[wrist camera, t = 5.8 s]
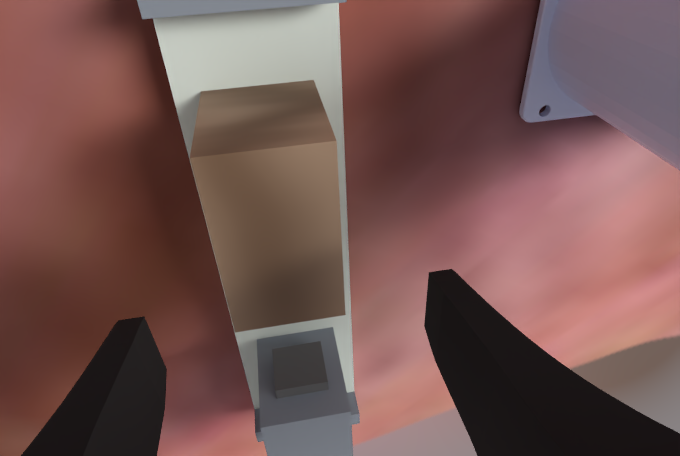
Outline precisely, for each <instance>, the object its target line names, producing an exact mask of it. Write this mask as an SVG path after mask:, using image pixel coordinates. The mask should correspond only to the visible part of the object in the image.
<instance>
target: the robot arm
mask: <svg viewBox="0 0 680 456" xmlns="http://www.w3.org/2000/svg"><path fill="white" fill-rule="evenodd" d="M545 105H546V108H545V110H544V111H543V112H541V113H539V111H540V109H541V108H542V107H543V106H545ZM519 115H520V117H521V118H522V119H523V120H524V121H526V122H530V123H532V122H541V121H549V120H558V119H566V118H575V117H583V116H591V115H597V116H598V117H600V118H601V119H603V120H604V121H606V122H607V123H609V124H610V125H612V126H613V127H615V128H616V129H618V130H619V131H621V132H622V133H624V134H625V135H627V136H628V137H630V138H631V139H633V140H634V141H636V142H637V143H639V144H640V145H642V146H643V147H645V148H646V149H648V150H649V151H651V152H652V153H654V154H655V155H657V156H658V157H660V158H662V159H663V160H665V161H666V162H668V163H669V164H671V165H672V166H674V167H675V168H677V169H678V170H680V0H541V1H540V6H539V12H538V17H537V22H536V27H535V32H534V37H533V43H532V48H531V53H530V58H529V63H528V68H527V74H526V79H525V84H524V89H523V94H522V99H521V105H520V110H519ZM424 326H425V330H426V333H427V336H428V339H429V343H430V346H431V349H432V352H433V355H434V358H435V361H436V363H437V366H438V368H439V370H440V373H441V375H442V377H443V379H444V381H445V384H446V386H447V388H448V390H449V392H450V395H451V397H452V399H453V401H454V403H455V406H456V408H457V410H458V412H459V414H460V417H461V419H462V421H463V423H464V425H465V427H466V430H467V432H468V434H469V436H470V439H471V441H472V443H473V446H474V448H475V451H476V453H477V456H680V434H679V433H678V432H676V431H674V430H672V429H670V428H668V427H666V426H664V425H662V424H659V423H658V422H656V421H654V420H652V419H651V418H649V417H647V416H645V415H643V414H641V413H640V412H638V411H636V410H634V409H633V408H631V407H629V406H628V405H626V404H624V403H622V402H621V401H619V400H617V399H616V398H614V397H612V396H610V395H609V394H607V393H605V392H604V391H602V390H600V389H599V388H597V387H596V386H594V385H593V384H591V383H589V382H588V381H586V380H585V379H583V378H582V377H580V376H579V375H577V374H576V373H574V372H573V371H572V370H570V369H569V368H567V367H566V366H564V365H563V364H561V363H560V362H559V361H557V360H556V359H555V358H553V357H552V356H551V355H549V354H548V353H547V352H545V351H544V350H543V349H541V348H540V347H539V346H538V345H536V344H535V343H534V342H533V341H531V340H530V339H529V338H528V337H526V336H525V335H524V334H523V333H522V332H520V331H519V330H518V329H517V328H516V327H514V326H513V325H512V324H511V323H510V322H509V321H508V320H506V319H505V318H504V317H503V316H502V315H501V314H499V313H498V312H497V311H496V310H495V309H494V308H493V307H492V306H491V305H490V304H488V303H487V302H486V301H485V300H484V299H483V298H482V297H481V296H480V295H479V294H478V293H477V292H476V291H475V290H474V289H472V288H471V287H470V286H469V285H468V284H467V283H466V282H465V281H464V280H463V279H462V278H461V277H460V276H459V275H458V274H457V273H456V272H455V271H453V270H452V269H449V270H442V271H436V272H429V279H428V290H427V302H426V313H425V325H424ZM166 371H167V369H166V366H165V364H164V362H163V359H162V357H161V355H160V352H159V350H158V348H157V345H156V343H155V341H154V338H153V336H152V334H151V331H150V329H149V327H148V324H147V322H146V320H145V317H138V318H132V319H125V320H119V321H118V322H117V323H116V324H115V325H114V327H113V328H112V330H111V331H110V333H109V335H108V336H107V338H106V339H105V341H104V342H103V344H102V345H101V347H100V348H99V350H98V351H97V353H96V354H95V356H94V357H93V359H92V360H91V362H90V363H89V365H88V366H87V368H86V369H85V371H84V372H83V374H82V375H81V377H80V378H79V379H78V381H77V382H76V384H75V385H74V387H73V388H72V389H71V391H70V392H69V394H68V395H67V397H66V398H65V399H64V401H63V402H62V404H61V405H60V406H59V408H58V409H57V410H56V412H55V413H54V414H53V416H52V417H51V418H50V419H49V421H48V422H47V423H46V425H45V426H44V427H43V429H42V430H41V431H40V432H39V434H38V435H37V436H36V438H35V439H34V440H33V441H32V443H31V444H30V445H29V446H28V448H27V449H26V450H25V451H24V452H23V454H22V455H21V456H157V451H158V445H159V439H160V434H161V428H162V422H163V416H164V410H165V395H166Z"/></svg>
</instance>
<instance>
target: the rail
mask: <svg viewBox="0 0 680 456" xmlns="http://www.w3.org/2000/svg"><path fill="white" fill-rule="evenodd" d="M137 2H138V6H139V9H140V13H141V17H142V19H150V18H153V22H154V26H155V30H156V34H157V37H158V41H159V45H160V49H161V53H162V56H163V60H164V64H165V68H166V72H167V76H168V79H169V83H170V87H171V91H172V95H173V99H174V102H175V106H176V110H177V114H178V118H179V122H180V125H181V129H182V133H183V137H184V141H185V145H186V148H187V152H188V156H189V160H190V152H191V146H192V141H193V135H194V129H195V123H196V117H197V111H198V105H199V99H200V94H201V91H209V90H219V89H229V88H238V87H248V86H258V85H268V84H278V83H287V82H297V81H307V80H314V82H315V85H316V87H317V90H318V93H319V95H320V98H321V100H322V103H323V106H324V108H325V111H326V114H327V116H328V119H329V122H330V124H331V127H332V130H333V132H334V135H335V138H336V140H337V157H338V177H339V197H340V216H341V236H342V256H343V275H344V295H345V314H346V315H343V316H336V317H330V318H324V319H317V320H311V321H305V322H298V323H292V324H286V325H280V326H273V327H267V328H261V329H254V330H248V331H242V332H236V333H235V336H236V340H237V344H238V348H239V351H240V355H241V359H242V363H243V367H244V371H245V374H246V378H247V382H248V386H249V390H250V393H251V397H252V401H253V405H254V409H255V433H256V437H257V441H258V442H261V441H264V444H265V448H266V452H267V456H353V444H352V424H358V423H360V419H359V410H358V406H357V401H356V397H355V392H354V372H353V347H352V323H351V298H350V273H349V248H348V223H347V199H346V174H345V149H344V124H343V100H342V75H341V50H340V25H339V3H341V2H346V0H137ZM190 164H191V162H190ZM191 168H192V165H191ZM192 171H193V169H192ZM193 175H194V173H193ZM194 179H195V177H194ZM195 183H196V181H195ZM196 187H197V185H196ZM197 191H198V188H197ZM198 194H199V192H198ZM199 198H200V196H199ZM200 202H201V200H200ZM201 206H202V204H201ZM202 210H203V208H202ZM203 214H204V212H203ZM204 217H205V215H204ZM205 221H206V219H205ZM206 225H207V223H206ZM207 229H208V227H207ZM208 233H209V231H208ZM209 236H210V235H209ZM210 240H211V238H210ZM211 244H212V242H211ZM212 248H213V246H212ZM213 252H214V250H213ZM214 256H215V254H214ZM215 259H216V258H215ZM216 263H217V261H216ZM217 267H218V265H217ZM218 271H219V269H218ZM219 275H220V273H219ZM220 279H221V277H220ZM221 282H222V281H221ZM222 286H223V284H222ZM223 290H224V288H223ZM224 294H225V292H224ZM225 298H226V296H225ZM226 302H227V300H226ZM227 305H228V304H227ZM228 309H229V307H228ZM229 313H230V311H229ZM230 317H231V315H230ZM231 321H232V319H231ZM232 325H233V323H232ZM233 328H234V327H233ZM234 332H235V330H234Z"/></svg>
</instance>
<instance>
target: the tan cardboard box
mask: <svg viewBox="0 0 680 456" xmlns="http://www.w3.org/2000/svg"><path fill="white" fill-rule="evenodd" d="M190 162H191V165H192V169H193V173H194V177H195V181H196V185H197V188H198V192H199V196H200V200H201V204H202V208H203V212H204V215H205V219H206V223H207V227H208V231H209V235H210V238H211V242H212V246H213V250H214V254H215V258H216V261H217V265H218V269H219V273H220V277H221V281H222V284H223V288H224V292H225V296H226V300H227V304H228V307H229V311H230V315H231V319H232V323H233V327H234V330H235V333H236V332H242V331H248V330H254V329H261V328H267V327H273V326H280V325H286V324H292V323H298V322H305V321H311V320H317V319H324V318H330V317H336V316H343V315H346V314H345V295H344V275H343V256H342V236H341V216H340V197H339V177H338V157H337V140H336V138H335V135H334V132H333V130H332V127H331V124H330V122H329V119H328V116H327V114H326V111H325V108H324V106H323V103H322V100H321V98H320V95H319V93H318V90H317V87H316V85H315V82H314V80H307V81H297V82H287V83H278V84H268V85H258V86H248V87H238V88H229V89H219V90H209V91H201V94H200V99H199V105H198V111H197V117H196V123H195V129H194V135H193V141H192V146H191V152H190Z"/></svg>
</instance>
